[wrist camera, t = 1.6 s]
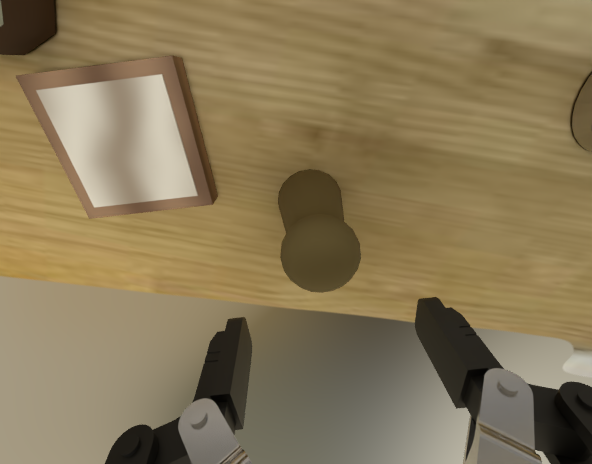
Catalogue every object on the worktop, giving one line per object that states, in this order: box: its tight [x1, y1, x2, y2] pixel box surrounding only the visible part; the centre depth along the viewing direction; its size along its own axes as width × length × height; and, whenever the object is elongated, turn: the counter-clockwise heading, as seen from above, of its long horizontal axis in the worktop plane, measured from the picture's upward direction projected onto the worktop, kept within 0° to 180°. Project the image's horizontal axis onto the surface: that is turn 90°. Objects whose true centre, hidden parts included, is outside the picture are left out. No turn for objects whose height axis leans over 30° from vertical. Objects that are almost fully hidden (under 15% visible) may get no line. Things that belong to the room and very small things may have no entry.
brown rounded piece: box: [278, 169, 361, 292], centre depth 21 cm, size 6×6×11 cm
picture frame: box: [16, 56, 218, 219], centre depth 22 cm, size 11×11×2 cm
